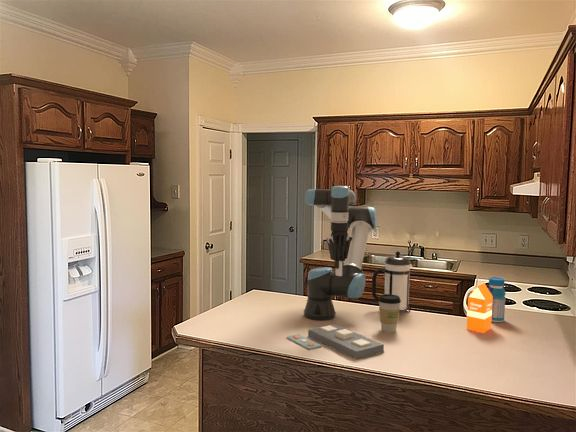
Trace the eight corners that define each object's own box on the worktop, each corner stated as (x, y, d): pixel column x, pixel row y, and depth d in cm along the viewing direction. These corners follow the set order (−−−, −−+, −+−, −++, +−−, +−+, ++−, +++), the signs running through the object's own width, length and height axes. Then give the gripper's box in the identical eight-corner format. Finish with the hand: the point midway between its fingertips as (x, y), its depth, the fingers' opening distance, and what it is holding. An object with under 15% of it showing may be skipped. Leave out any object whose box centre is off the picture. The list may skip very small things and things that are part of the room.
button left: (320, 335, 202) (320, 327, 202) (329, 333, 205) (329, 325, 204) (327, 338, 198) (327, 330, 197) (337, 336, 201) (337, 328, 200)
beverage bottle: (499, 323, 222) (501, 281, 220) (481, 319, 228) (483, 278, 226) (507, 320, 227) (509, 278, 225) (490, 316, 233) (492, 275, 232)
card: (286, 338, 199) (286, 336, 199) (298, 335, 202) (298, 333, 202) (309, 349, 186) (309, 347, 186) (321, 347, 189) (321, 345, 189)
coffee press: (390, 304, 254) (391, 247, 251) (416, 310, 243) (419, 251, 240) (370, 310, 242) (372, 251, 239) (398, 317, 230) (399, 255, 228)
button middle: (335, 339, 194) (335, 331, 193) (345, 337, 196) (345, 328, 196) (343, 343, 189) (343, 334, 189) (353, 340, 192) (353, 332, 192)
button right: (351, 350, 185) (352, 341, 185) (361, 347, 188) (361, 338, 188) (360, 354, 181) (360, 345, 181) (370, 351, 184) (370, 342, 184)
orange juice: (466, 328, 214) (468, 284, 212) (474, 324, 220) (476, 281, 218) (484, 333, 208) (486, 287, 207) (491, 328, 215) (493, 284, 213)
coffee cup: (400, 334, 205) (401, 300, 204) (377, 332, 207) (378, 298, 206) (399, 327, 215) (400, 294, 213) (377, 325, 217) (378, 293, 215)
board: (308, 336, 202) (308, 329, 201) (334, 330, 209) (334, 323, 209) (356, 359, 177) (356, 351, 176) (383, 352, 184) (383, 344, 184)
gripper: (333, 223, 200) (332, 279, 203) (356, 221, 208) (355, 275, 210) (322, 221, 207) (321, 275, 209) (345, 220, 214) (344, 272, 216)
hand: (338, 275), depth 210 cm, fingers closed
